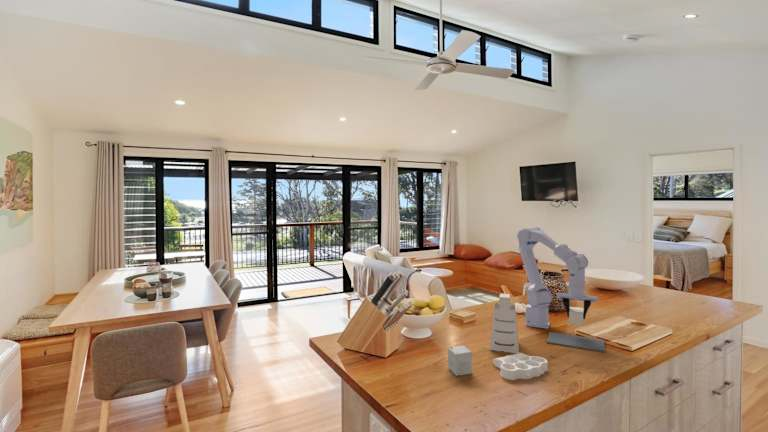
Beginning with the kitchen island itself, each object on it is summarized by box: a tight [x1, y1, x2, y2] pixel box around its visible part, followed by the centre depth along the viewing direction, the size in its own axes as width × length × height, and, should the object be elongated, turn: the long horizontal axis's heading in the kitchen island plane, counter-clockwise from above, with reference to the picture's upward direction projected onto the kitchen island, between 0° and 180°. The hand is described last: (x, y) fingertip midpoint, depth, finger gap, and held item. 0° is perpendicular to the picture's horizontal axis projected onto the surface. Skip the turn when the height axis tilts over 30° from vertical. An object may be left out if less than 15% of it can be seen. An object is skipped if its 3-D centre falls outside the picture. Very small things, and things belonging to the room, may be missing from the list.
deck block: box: [568, 306, 584, 326], centre depth 156 cm, size 9×5×4 cm, turn 152°
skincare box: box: [447, 345, 473, 377], centre depth 128 cm, size 6×6×7 cm
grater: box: [489, 293, 520, 354], centre depth 148 cm, size 10×10×20 cm
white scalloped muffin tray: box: [492, 352, 549, 381], centre depth 128 cm, size 3×18×15 cm
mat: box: [546, 331, 606, 353], centre depth 152 cm, size 20×12×1 cm, turn 61°
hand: (576, 317), depth 156 cm, fingers closed on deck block, 5 cm apart
